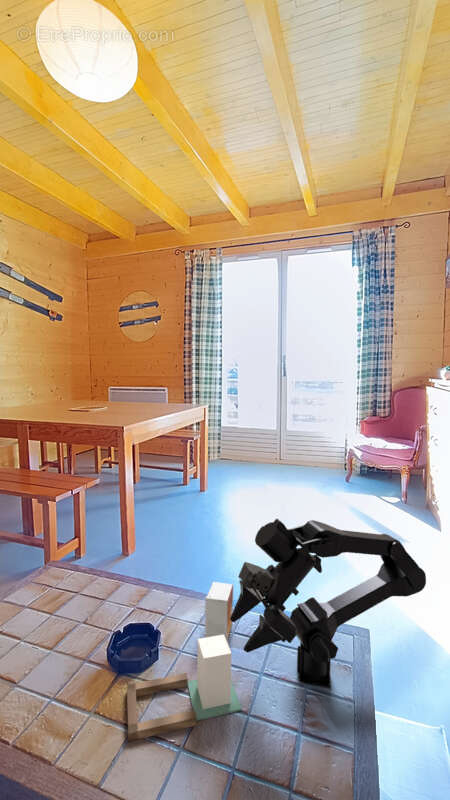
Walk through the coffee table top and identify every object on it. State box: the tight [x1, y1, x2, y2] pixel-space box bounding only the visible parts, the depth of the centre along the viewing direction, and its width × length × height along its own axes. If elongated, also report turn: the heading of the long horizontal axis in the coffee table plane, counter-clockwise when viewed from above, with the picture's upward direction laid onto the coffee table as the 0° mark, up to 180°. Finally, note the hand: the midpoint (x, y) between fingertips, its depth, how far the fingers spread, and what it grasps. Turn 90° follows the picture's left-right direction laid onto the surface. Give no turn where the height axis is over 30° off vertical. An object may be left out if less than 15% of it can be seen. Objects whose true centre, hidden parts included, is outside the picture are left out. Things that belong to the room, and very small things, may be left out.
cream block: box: [196, 635, 233, 709], centre depth 73 cm, size 6×6×10 cm
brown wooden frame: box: [126, 672, 197, 742], centre depth 71 cm, size 12×11×2 cm
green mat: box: [187, 679, 243, 722], centre depth 73 cm, size 9×9×1 cm
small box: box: [204, 581, 234, 642], centre depth 93 cm, size 8×6×10 cm
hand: (237, 634), depth 75 cm, fingers open, 9 cm apart
